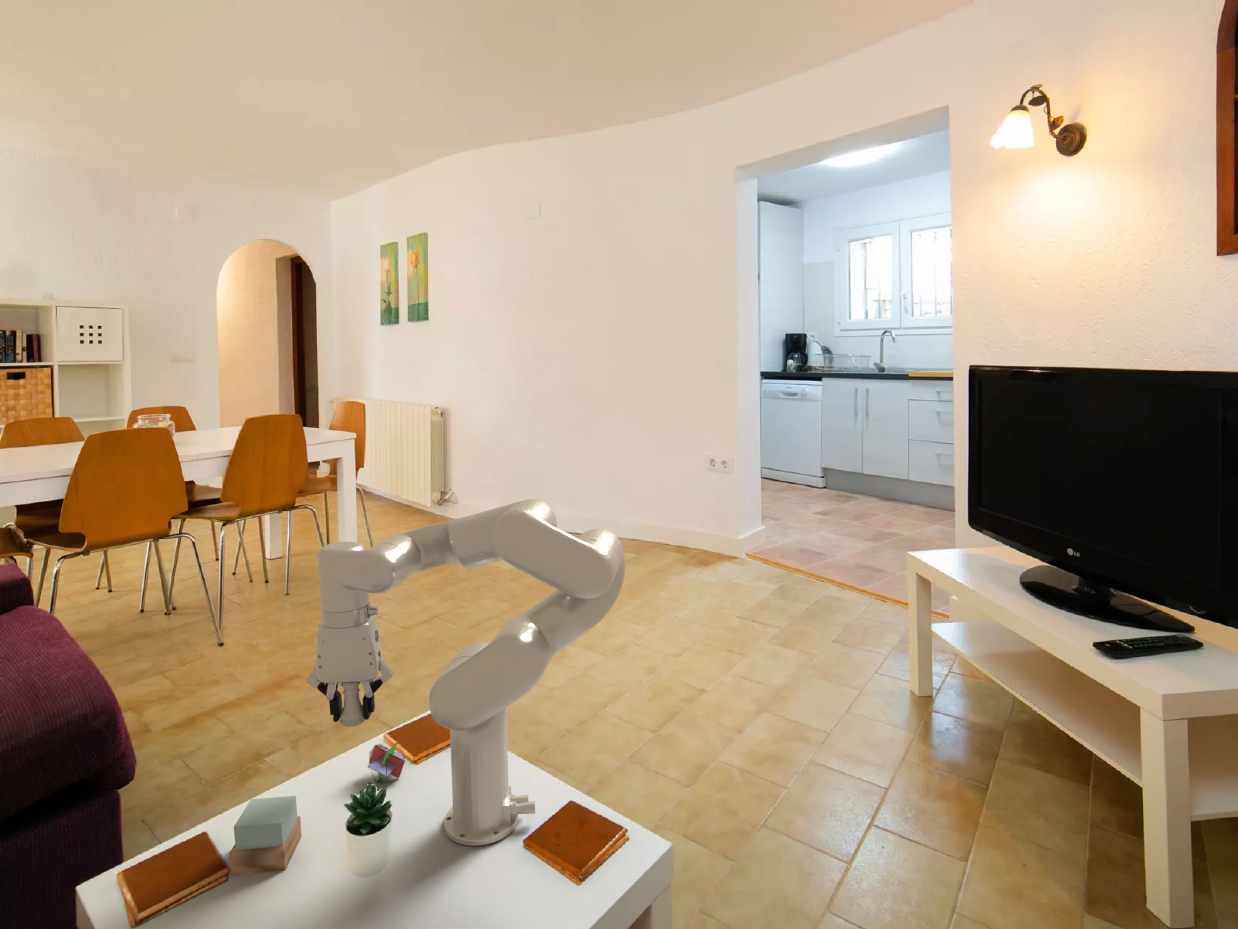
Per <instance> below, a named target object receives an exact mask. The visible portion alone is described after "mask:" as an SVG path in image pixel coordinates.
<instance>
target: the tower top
mask: <svg viewBox="0 0 1238 929" xmlns="http://www.w3.org/2000/svg"><path fill="white" fill-rule="evenodd" d="M297 806H298V805H297V795H289V796H288V795H287V796H278V797H277V796H274V797H262V798H252V799H250V801H248V804H247V805H246V806H245V808H244V810H243V812H242V813H241V814H240V816H239V818H238V820H237V821H236V822H235V824H234V825H233V832H234V833H233V834H234V845H235V848H236V850H244V849H256V848H267V847H279V846H283V845H284V843H285V841H286V839H287V837H288V835H289V834H290V832H291V830H292V828H293V826H294V824H295V822H296V820H297V816H298V809H297V808H298V807H297Z"/></svg>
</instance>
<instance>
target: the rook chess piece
mask: <svg viewBox="0 0 1238 929" xmlns="http://www.w3.org/2000/svg"><path fill="white" fill-rule="evenodd" d="M360 684H362V683H361V681H360V682H345V683H340V686H341V687H342V688H343V691H342V694H343V697H344V698H343V699H344V700H343V705H342V712H341V713H340V719H339V723H340V724H341V725H342V726H343V727H346V728H347V727H348V728H353V727H356V726H359V725H360V726H361V725H362V724H363V723H365V721H366V720H365V719H364V714H363V703H362V702H361V697H360V691H361V688H359V686H360Z"/></svg>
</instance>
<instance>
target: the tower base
mask: <svg viewBox="0 0 1238 929" xmlns="http://www.w3.org/2000/svg"><path fill="white" fill-rule="evenodd" d="M301 824H302V823H301V816H300V815H299V816H298V815H297V820H296V822H295V824H294V826H293V828H292V830H291V832H290V834H289V835H288V837H287V839H286V841H285V843H284V845H283V846H279V847H267V848H256V849H244V850H236V848H235V844H233V847H232V848H231V850H230V851H229V863H230V875H231V876H236V875H237V876H238V875H248V874H249V875H250V874H261V873H271V872H272V873H273V872H281V871H283V872H284V871H286V870H287V868H288V865H289V864H290V862H291V859H292V858H293V856H294V853H295V852H296V850H297V848H298V845H299V843H300V841H301V839H302V837H303V835H302V825H301Z"/></svg>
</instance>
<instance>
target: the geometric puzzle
mask: <svg viewBox="0 0 1238 929" xmlns="http://www.w3.org/2000/svg"><path fill="white" fill-rule="evenodd" d="M397 746H399V749H400V751H402V748H401V746H400V744H399V741H396V742H395V743H392V745H391V744H390V746H388V747H387V746H385V745H384V744H381V743H378V744H374V746H373V747H372V748H371V750H370V751H369V756H368V758H369V760H368V765H367V768H368V769H371V770H369V771H370V773H371V776H372V777H373V779H374V780H375V783H379V782H381V783H382V782H383V780H384V779H385V778H388V777H389V778H391V779H393V778H395V780H399V779H400V777H401V774H402V771H403V768H404V765H405V763H406V757H405V755H404V753H402V755H401V754H400V753H398V752H396V748H397ZM390 747H391V748H390ZM371 771H375V772H377V773H378V775H377V778H375V776H374V774H373V772H371ZM389 775H391V776H393V777H391V776H389ZM383 776H384V777H383ZM398 778H399V779H398ZM387 781H389V780H386V782H387Z"/></svg>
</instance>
